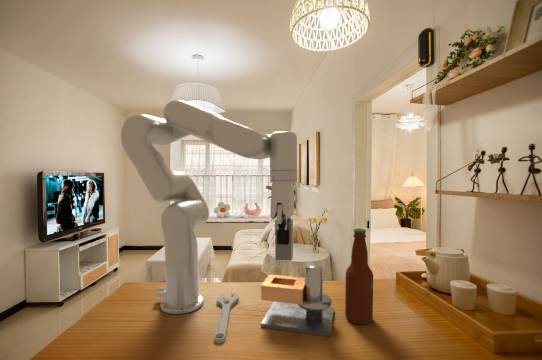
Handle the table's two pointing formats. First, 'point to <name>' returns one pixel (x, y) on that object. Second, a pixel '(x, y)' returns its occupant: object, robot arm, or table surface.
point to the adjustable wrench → (224, 316)
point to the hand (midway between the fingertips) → (284, 242)
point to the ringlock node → (298, 303)
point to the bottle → (359, 283)
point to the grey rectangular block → (284, 250)
